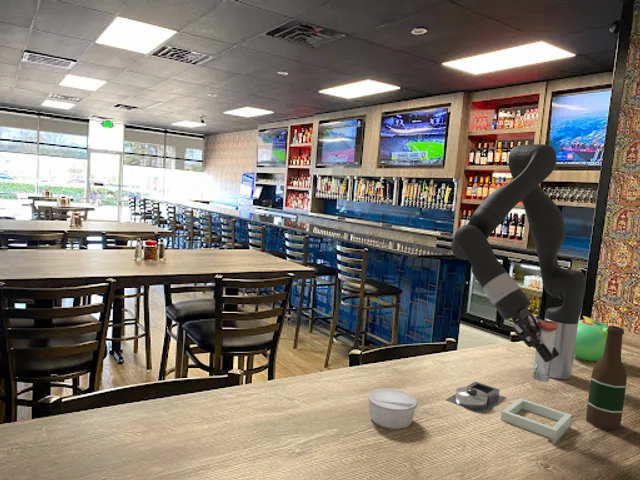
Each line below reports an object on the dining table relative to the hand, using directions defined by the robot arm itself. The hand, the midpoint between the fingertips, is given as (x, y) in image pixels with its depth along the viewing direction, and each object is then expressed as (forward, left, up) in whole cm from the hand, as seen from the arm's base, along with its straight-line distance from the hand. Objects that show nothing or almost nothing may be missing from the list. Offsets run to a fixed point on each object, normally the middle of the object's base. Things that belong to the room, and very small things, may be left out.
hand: (552, 358), depth 111 cm
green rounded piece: (-71, -6, -17) cm, 73 cm away
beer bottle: (-15, +9, -17) cm, 24 cm away
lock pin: (0, -2, -5) cm, 6 cm away
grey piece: (-1, -17, -17) cm, 24 cm away
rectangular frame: (0, -2, -17) cm, 17 cm away
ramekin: (+25, -26, -17) cm, 40 cm away
